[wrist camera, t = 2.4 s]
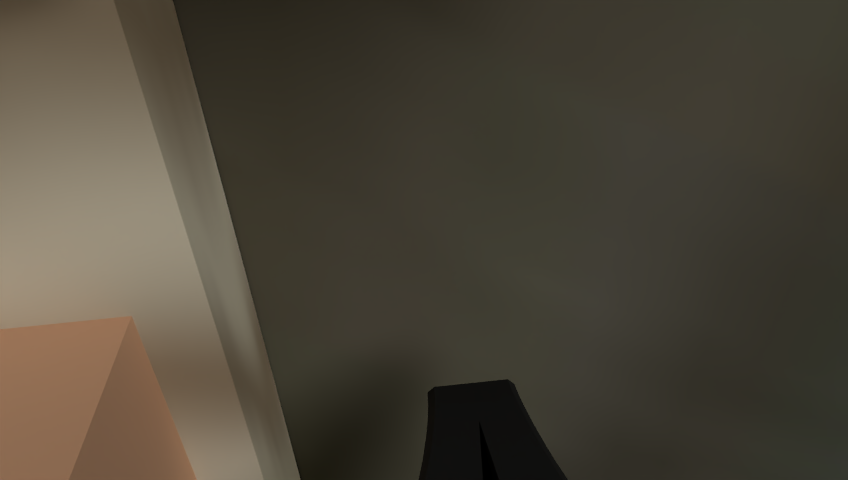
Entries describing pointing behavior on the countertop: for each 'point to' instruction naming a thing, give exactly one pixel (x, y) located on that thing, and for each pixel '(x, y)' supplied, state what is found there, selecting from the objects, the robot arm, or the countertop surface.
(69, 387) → the block
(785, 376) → the countertop surface
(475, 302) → the countertop surface
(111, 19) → the mottled shallow tray
